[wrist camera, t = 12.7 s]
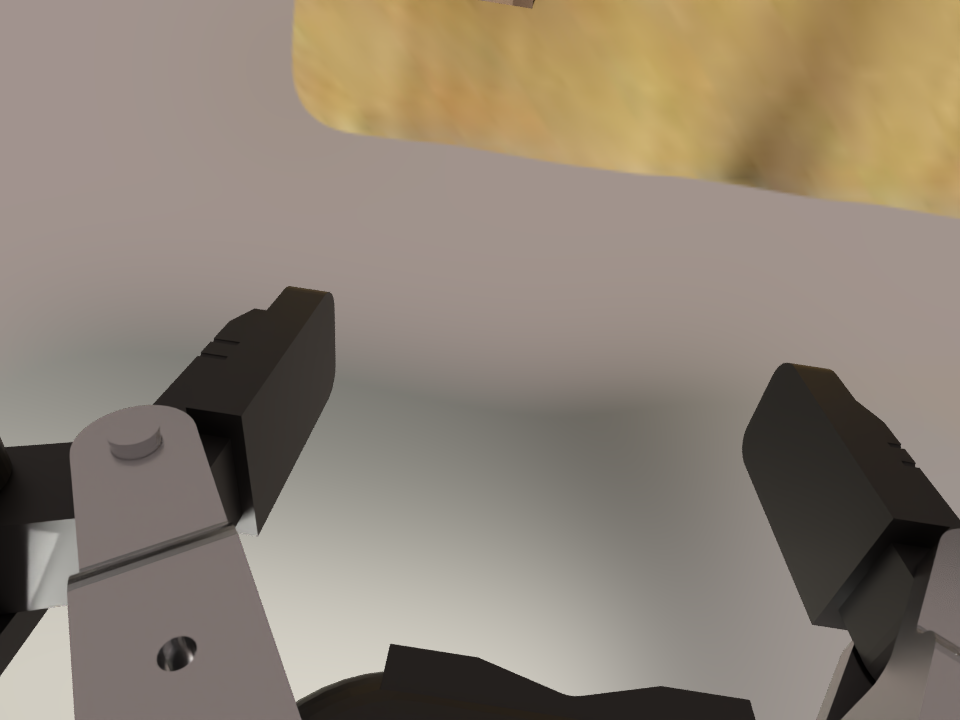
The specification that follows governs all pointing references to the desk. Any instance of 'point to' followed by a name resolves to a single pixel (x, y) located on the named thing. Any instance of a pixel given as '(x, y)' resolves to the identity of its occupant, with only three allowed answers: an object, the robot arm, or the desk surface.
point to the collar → (514, 2)
